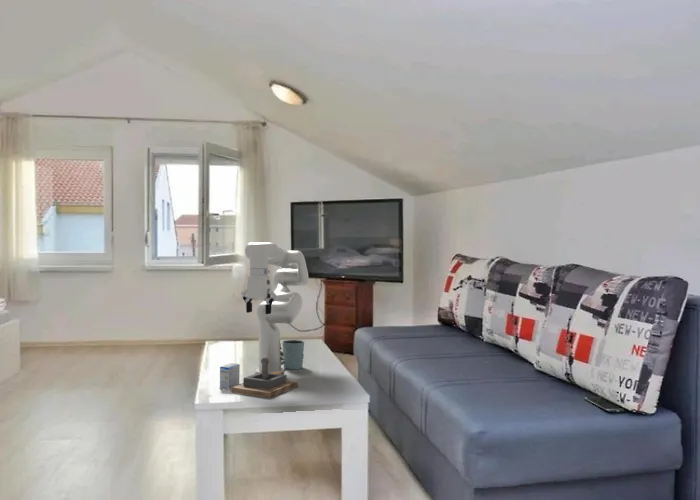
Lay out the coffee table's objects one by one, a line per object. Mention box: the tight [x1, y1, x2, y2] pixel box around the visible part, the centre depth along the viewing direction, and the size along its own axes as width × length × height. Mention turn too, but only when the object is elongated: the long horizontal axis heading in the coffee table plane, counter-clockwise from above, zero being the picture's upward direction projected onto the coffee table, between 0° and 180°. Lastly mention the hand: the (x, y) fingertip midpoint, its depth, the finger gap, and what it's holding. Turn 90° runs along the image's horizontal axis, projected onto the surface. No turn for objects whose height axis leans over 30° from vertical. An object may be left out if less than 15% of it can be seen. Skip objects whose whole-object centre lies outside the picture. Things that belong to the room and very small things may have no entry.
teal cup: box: [281, 339, 305, 370], centre depth 272 cm, size 10×10×12 cm
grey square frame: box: [242, 372, 287, 389], centre depth 235 cm, size 16×12×3 cm
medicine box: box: [219, 362, 241, 390], centre depth 237 cm, size 8×4×9 cm, turn 159°
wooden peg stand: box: [230, 357, 299, 399], centre depth 233 cm, size 20×18×13 cm
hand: (258, 313), depth 247 cm, fingers open, 9 cm apart
